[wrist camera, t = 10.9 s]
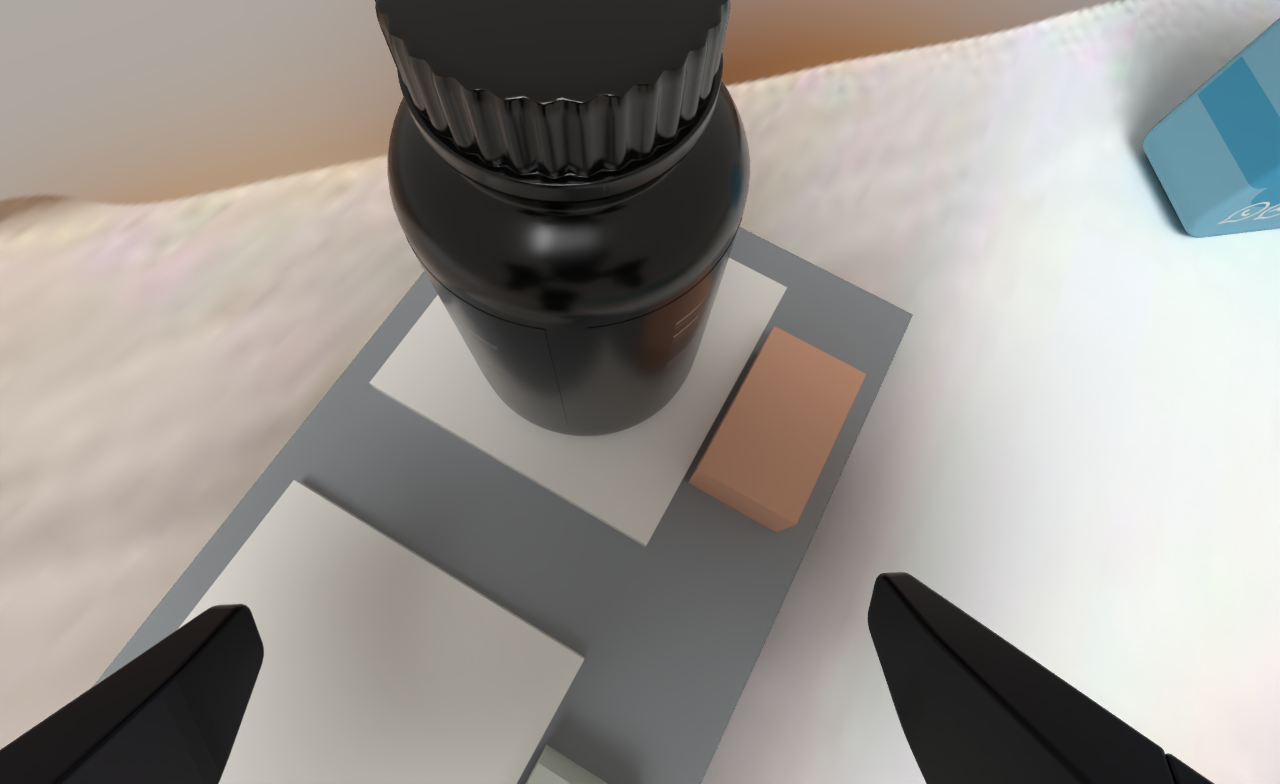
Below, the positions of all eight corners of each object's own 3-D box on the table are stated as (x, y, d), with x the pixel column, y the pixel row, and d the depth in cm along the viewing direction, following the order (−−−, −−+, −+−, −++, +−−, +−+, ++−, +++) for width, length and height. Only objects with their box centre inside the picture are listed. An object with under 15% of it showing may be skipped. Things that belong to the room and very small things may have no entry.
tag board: (893, 333, 22) (943, 286, 19) (490, 1209, 14) (456, 1392, 11) (544, 154, 24) (534, 82, 21) (6, 844, 16) (-151, 908, 13)
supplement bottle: (625, 213, 21) (654, -251, 10) (735, 376, 19) (928, 46, 8) (439, 299, 19) (210, -128, 8) (538, 484, 18) (425, 272, 6)
